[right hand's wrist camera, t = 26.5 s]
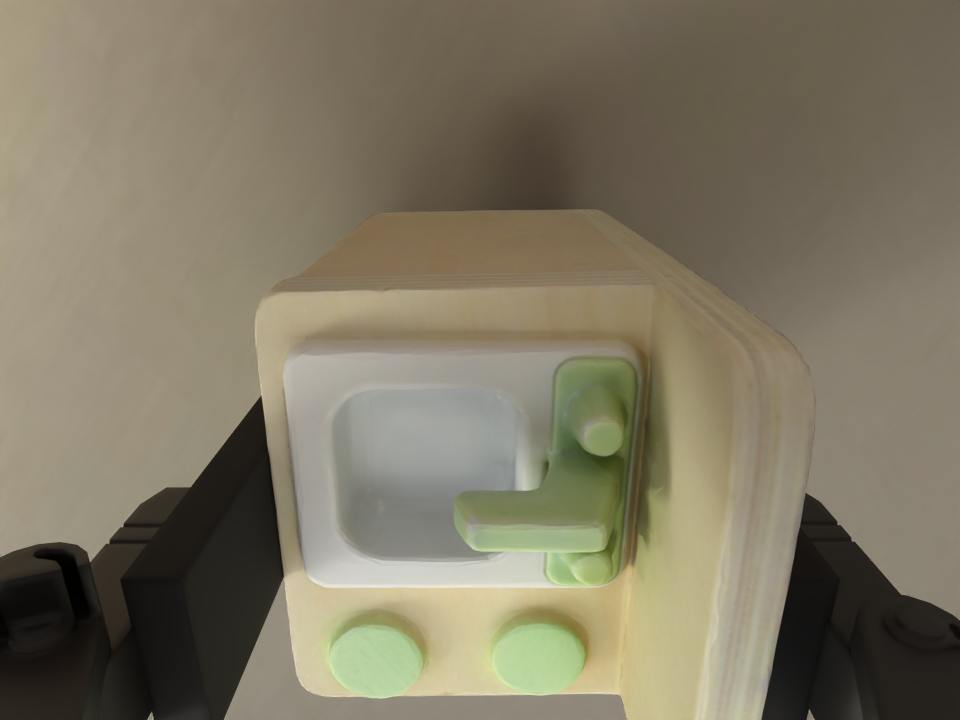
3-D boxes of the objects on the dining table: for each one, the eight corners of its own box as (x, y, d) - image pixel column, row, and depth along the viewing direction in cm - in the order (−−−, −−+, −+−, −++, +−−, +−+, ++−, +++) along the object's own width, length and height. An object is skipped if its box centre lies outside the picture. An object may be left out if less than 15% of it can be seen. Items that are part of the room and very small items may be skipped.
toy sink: (347, 204, 19) (113, 379, 7) (602, 201, 19) (843, 367, 7) (369, 464, 22) (237, 915, 10) (588, 460, 22) (735, 905, 10)
